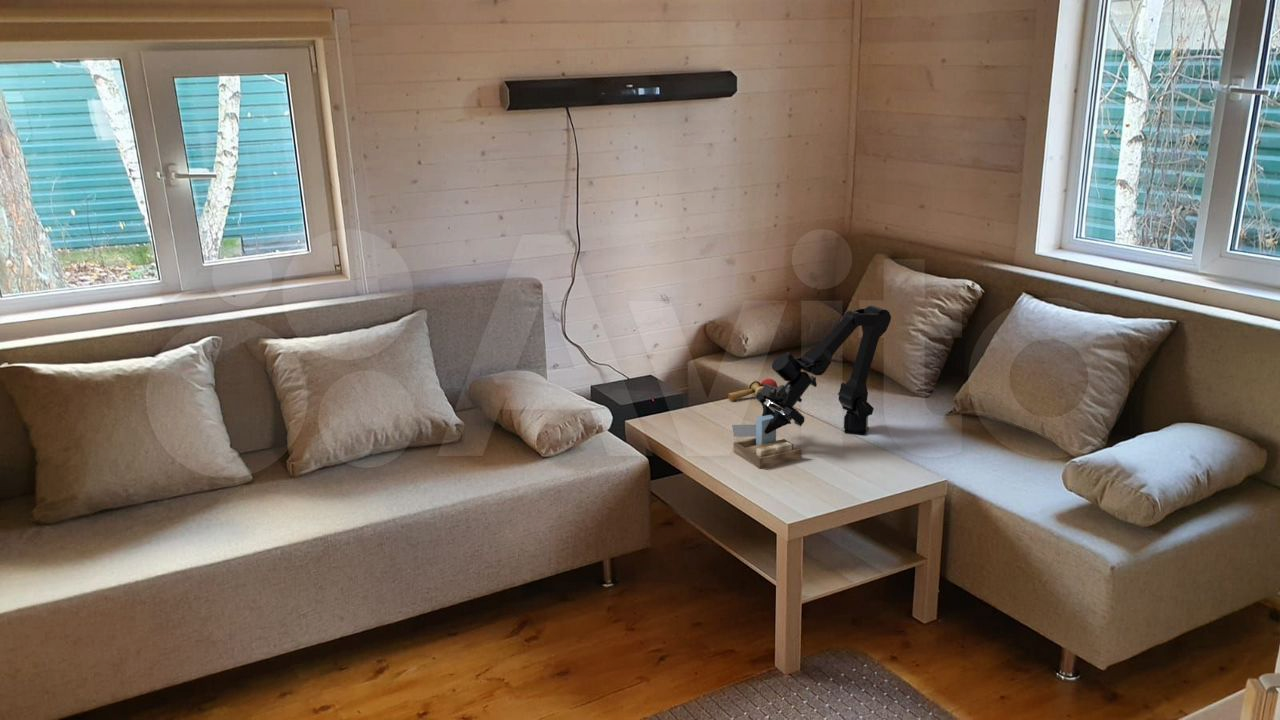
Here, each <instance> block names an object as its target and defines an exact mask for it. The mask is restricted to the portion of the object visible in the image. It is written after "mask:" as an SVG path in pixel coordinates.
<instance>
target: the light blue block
mask: <svg viewBox="0 0 1280 720" xmlns="http://www.w3.org/2000/svg"><path fill="white" fill-rule="evenodd" d="M773 417H774V416H772V415H766V416H762V415H761V416H757V417H756V419H755V421H756V423H755V425H756V436H755V438H756V445H760V444H764V443H769V442H773V441H777V429H776V430H774V431H772V432H770V433H768V434H766V433H764V431H765V429H766V428H767V426H768V425H769V423H770V422H771V420H772V419H773Z"/></svg>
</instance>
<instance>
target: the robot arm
mask: <svg viewBox="0 0 1280 720" xmlns="http://www.w3.org/2000/svg"><path fill="white" fill-rule="evenodd" d="M891 320H892V315H891V313H890V312H889V310H887V309H885V308H882V307H879V306H876V305H869V306H867V307H864V308H857V309H855V310H848V311H846V312H845V314H844V316H843V318H842V319H841V320H840V321H839V322H838V323H837V325H836V326H835V327H834V328H833V329H832V330H831V331H830V333H829V334H828V335H827V336H826V337H825V338H824V339H823V341H821V342H820V343H819V344H818V345H815V346H814V347H812V348H810V349H809V350H808V351H806V352H805V353H804V354H803V355H802V356H800V357H796V358H795V357H794V355H793V354H792V353H790V352H788V351H786V352H785V353H784V354H782V355H781V354H780V355H779V356H778V357H776V358H774V360H773V361H772V364H771V368H772V370H773V371H774V372H775V373H776V374H777V375H778V376H779V377H780V378H781V379H782V380H784V381H785V382H786V384H785V385H784V384H781V385H779V386H778V385H777V386H778V387H777V388H776V387H774V386H771V385H768V384H764V387H763V390H762V392H759V393H758V394H757V395H756V396H755V395H754V399H756V400H757V401H758V402H759V403H760V405H761V406H762V414H761V417H762V416H766V415H772V416H774V417H773V419H772V420H771V422H770V423H769V425H768V426H767V428H766V429H765V431H764V433H766V434H768V433H770V432H772V431H774V430H776V431H777V430H778V429H780V428H782V427H784V426H786V425H791V424H792V422H791V421H792V420H793V421H794V424H796V425H797V426H799V427H802V426H803V424H804V423H805V419H806V418H805V416H804V415H803V414H801V412H799V411H798V410H797V409H796V408H794V406H795V405H796V404H797V402H798V403H801V402H802V401H803V399H802V396H803V395H804V393H805V392H806V391H807V390H808V388H809V387H810V386H813V387H814V388H817V385H818V383H817V377H815V376H822V375H824V374H825V372H826V371H827V370H828V369H829V367H830V366H831V364H832V359H833V357H834V355H835V353H836V352H837V351H838V349H840V348H841V346H842V345H844V343H845V342H846V340H848V339H849V337H850V336H851V335H853V332H855V330H856V329H857V328H858V327H859V326H860V327H861V331H862V335H861V340H860V343H859V347H858V350H857V353H856V357H855V361H854V364H853V367H852V369H851V370H852V371H851V374H850V378H849V379H848V380H847V381H846V382H841V384H840V387H839V388H840V389H839V390H838V393H837V396H838V402H839V403H840V405H841V408H842V410H845V411H846V413H845V415H844V417H843V429H844V431H843V432H844V433H845V434H852V435H853V434H854V435H863V436H866V434H867V432H868V430H869V416H872V415H873V412H874V407H873V406H872V405H871V404H870V403H869V402H868V395H869V392H868V386H867V380H868V378H869V374H870V371H871V368H872V364H873V360H874V356H875V353H876V351H877V346H878V343H879V340H880V338H881V337H882V336H883V335H884V334H885V333H886V332H887V330H888V328H889V326H890V323H891ZM801 370H803V371H801ZM810 374H812V375H810ZM813 375H814V376H813Z"/></svg>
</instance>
